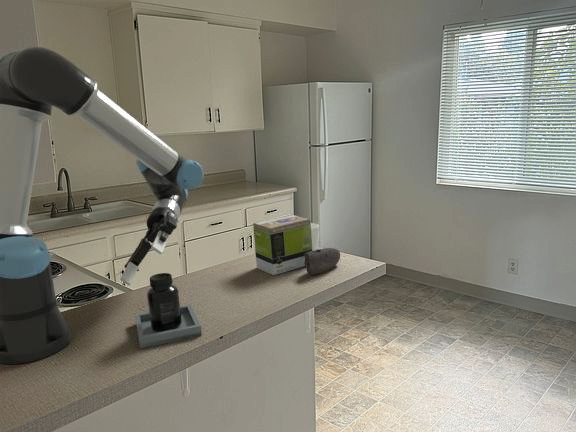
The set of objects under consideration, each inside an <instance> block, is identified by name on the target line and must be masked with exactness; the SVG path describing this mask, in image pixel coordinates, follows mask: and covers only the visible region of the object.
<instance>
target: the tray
mask: <svg viewBox="0 0 576 432" xmlns="http://www.w3.org/2000/svg"><path fill="white" fill-rule="evenodd" d="M180 311H181V320H182V323H181V325H180V326H179V327H178V328H177V329H173V330H168V331H163V332H156V331H154V330H153V329H152V328H151V322H150V315H149V311H147V312H142V313H137V314H134V316H135V324H136V331H137V338H138V343H139V348H140V349H145V348H149V347H155V346H158V345H163V344H169V343H175V342H177V341H182V340H187V339H192V338H196V337H197V338H198V337H201V336H203V335H202V325H201V324H200V321H199V320H198V317H197V315H196V313H195V310H194V308H193V306H192V304H185V305H180Z"/></svg>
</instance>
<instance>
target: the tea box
mask: <svg viewBox="0 0 576 432" xmlns="http://www.w3.org/2000/svg"><path fill="white" fill-rule="evenodd" d="M311 223H312V222H311V219H309V218H306V217H302V216H298V215H293V214H290V215H289V214H288V215H285V216H281V217H276V218H271V219H267V220H262V221H257V222H253V223H252V227H253V228H252V229H253V238H254V239H253V240H254V252H255V262H256V267H257V269H259V270H261V271H263V272H265V273H267V274H269V275H272V276H276V275H279V274H283V273H287V272H290V271H293V270H296V269H301V268H303V267H306V266H305V256H304V254H305V253H307V252H310V251H312V237H311Z"/></svg>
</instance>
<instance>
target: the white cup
mask: <svg viewBox="0 0 576 432" xmlns="http://www.w3.org/2000/svg"><path fill="white" fill-rule="evenodd" d="M310 223H311V237H312V251H315V250H317V249H319V244H320V224H318V223H314V222H310Z"/></svg>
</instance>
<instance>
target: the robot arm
mask: <svg viewBox="0 0 576 432" xmlns="http://www.w3.org/2000/svg"><path fill="white" fill-rule="evenodd" d="M53 108H56V109H59V110H60V111H62V112H63V113H64V114H66V115H67V116H69V117H72V116H77V118H80V119H81V120H82V121H84V122H85V124H88V125H89V126H91V127H92V128H93V129H95V130H96V131H97V132H98V133H100V134H101V135H103V136H104V137H106V138H107V139H108V140H110V141H111V142H113V143H114V144H116V146H118V147H120V148H121V149H123V150H124V151H125V152H127V153H128V154H129V155H131V156H132V157H133V158H135V160H136V165H137V167H138V169H139V171H140V173H141V174H142V177H143V178H144V180H145V182H146V183H147V185H148V187H149V188H150V190H151V192H152V193H153V195H154V198H155V199H156V201H155V203H154V205H153V207H152V209H151V211H150V213H149V215H148V217H147V219H146V226H147V230H146V232H145V235H144V237H143V238H141V239H140V241H139V243H138V245H137V247H136V248H135V250H134V251H133V252H132V254H131V256H130V257H129V258H128V260H127V261H126V263H125V264H124V271H123V273H122V275H121V277H120V279H119V280H120V281H121V282H123V283H124V284H126V285H127V286H130V285H131V284H132V282H133V280H134V278H135V276H136V274H137V272H139V271H140V269H139V266H140V264H141V263H142V262H143V260H144V259H145V257H146V256H147V254H148V253H149V252H150V251H151V250H153V251H155V252H156V253H157V254H159V255H162V253H163V252H164V249H165V247H166V245H167V243H168V240H169V238H170V235H172V233H173V232H174V231H175V229H177V227H178V223H179V222H180V220H179V218H180V215H181V213H182V211H183V209H184V206H185V205H186V203H187V201H188V200H187V198H188V195H189V192H188V190H194V189H197V188H199V187H200V186H201V185H202V182H203V180H204V176H205V175H204V169H203V167H202V165H201V164H200V163H199V162H197V161H194V160H192V159H186V158H185V157H184V156H182V155H181V154H180V153H178V152H177V151H176V150H175V149H173V148H172V147H170V146H169V145H168V144H167V142H166V143H165V142H164V141H163V140H162V139H161V138H159V137H158V136H157V135H155V134H154V133H153V132H152V131H151V130H149V129H148V128H147V127H146V126H144V125H143V124H142V123H140V122H139V121H138V120H137V119H136V118H134V117H133V116H132V115H130V113H129V112H127V111H126V110H125V109H123V108H122V107H121V106H120V105H118V104H117V103H116V102H115V101H113V100H112V99H111V98H109V97H108V96H107V95H106V94H105V93H104V92H102V91H101V90H99V89H98V82H97V81H96V80H94V79H93V78H92V77H91V76H89V75H88V74H87V73H86V72H85V71H83V70H82V69H81V68H79V67H78V66H77V65H76V64H74V63H73V62H72V61H71V60H69V59H67V58H66V57H65V56H63V55H62V54H60V53H59V52H56V51H54V50H52V49H50V48H46V47H41V46H31V47H27V48H24V49H22V50H20V51H14V52H9V53H7V54H5V55H4V56H2V57H1V58H0V364H5V365H18V364H19V365H21V364H26V363H31V362H35V361H37V360H41V359H44V358H47V357H49V356H52V355H53V354H56V353H58V352H60V351H61V350H63V349H64V348H65V347H67V346H68V344H69V343H70V342H71V341H72V340H71V339H72V332H71V329H70V326H69V324H68V322H67V320H66V319H65V317H64V315H63V314H62V312H61V310H60V308H59V307H58V304H57V297H56V292H55V290H56V289H55V285H54V279H53V273H52V267H51V256H50V252H49V251H48V247H47V244H46V243H45V242H44V241H43V240H42V239H40V238H38V237H35V236H33V235H34V233H33V230H31V228H30V227H29V226H28V217H29V212H30V206H31V204H30V203H31V200H32V198H31V197H32V192H33V185H34V177H35V170H36V165H37V159H38V152H39V148H40V147H39V146H40V140H41V138H40V137H41V132H42V127H43V123H44V122H47V121H48V120H49V119H51V116H52V109H53Z"/></svg>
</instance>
